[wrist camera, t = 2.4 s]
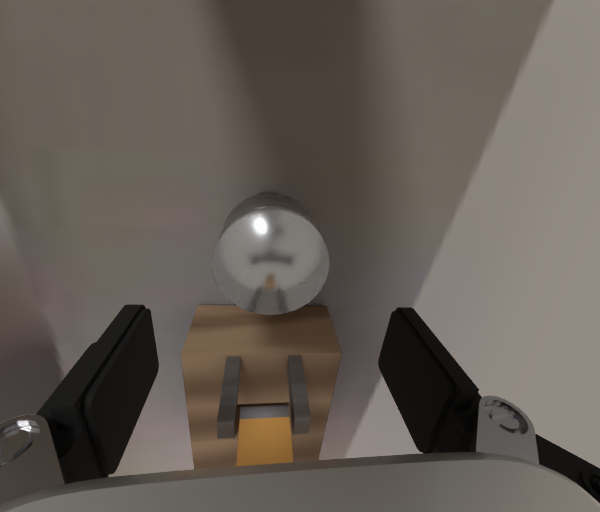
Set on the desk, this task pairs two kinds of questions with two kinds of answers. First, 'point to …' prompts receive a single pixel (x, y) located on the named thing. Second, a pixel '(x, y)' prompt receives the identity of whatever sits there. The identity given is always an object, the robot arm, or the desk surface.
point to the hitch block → (257, 376)
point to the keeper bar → (264, 436)
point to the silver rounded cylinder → (270, 255)
